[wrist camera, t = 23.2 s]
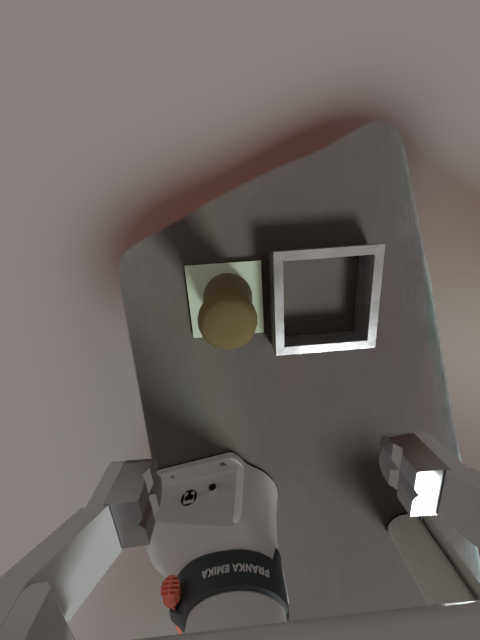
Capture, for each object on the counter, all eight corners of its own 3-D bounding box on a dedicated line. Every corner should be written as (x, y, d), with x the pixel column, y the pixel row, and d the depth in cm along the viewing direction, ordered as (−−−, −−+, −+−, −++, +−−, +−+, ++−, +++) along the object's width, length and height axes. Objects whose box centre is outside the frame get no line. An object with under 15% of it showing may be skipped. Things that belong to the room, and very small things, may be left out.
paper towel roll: (391, 541, 46) (521, 778, 26) (382, 520, 44) (513, 756, 24) (429, 527, 46) (593, 759, 25) (422, 505, 44) (591, 735, 23)
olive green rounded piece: (219, 329, 32) (215, 372, 22) (193, 289, 30) (174, 314, 20) (261, 306, 31) (277, 338, 21) (236, 263, 30) (241, 274, 19)
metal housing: (271, 344, 34) (276, 355, 30) (268, 250, 30) (273, 252, 27) (360, 337, 34) (375, 347, 31) (367, 243, 30) (385, 244, 27)
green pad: (194, 336, 33) (193, 337, 32) (185, 265, 30) (184, 266, 30) (263, 330, 33) (263, 332, 32) (260, 260, 30) (261, 260, 30)
